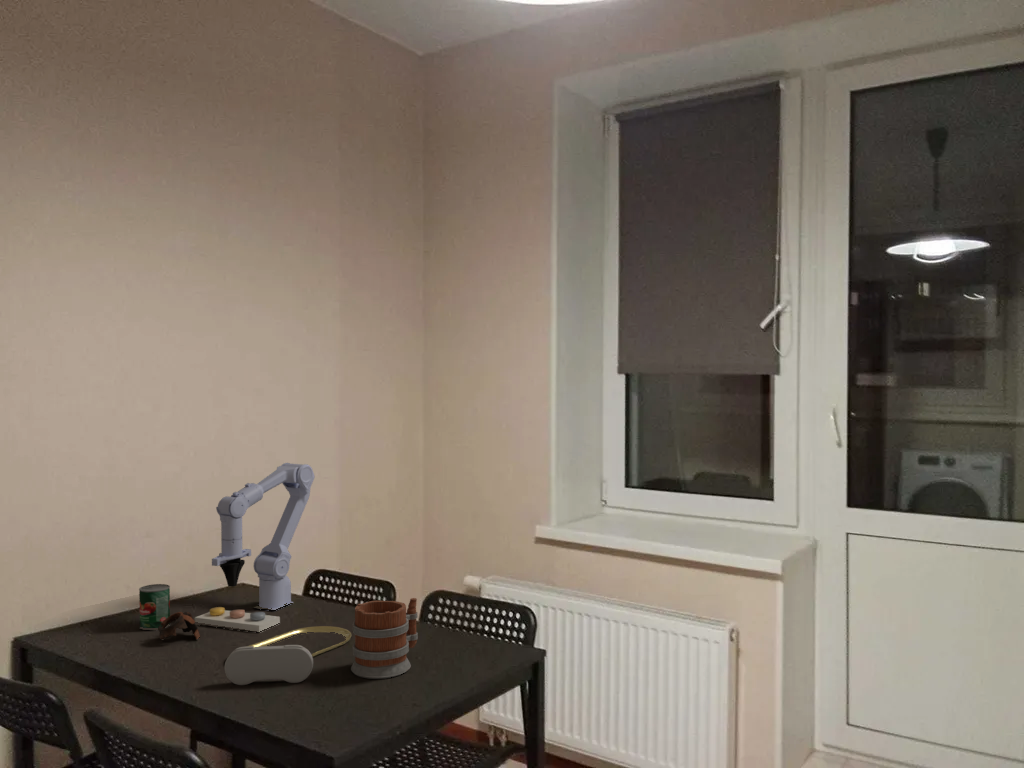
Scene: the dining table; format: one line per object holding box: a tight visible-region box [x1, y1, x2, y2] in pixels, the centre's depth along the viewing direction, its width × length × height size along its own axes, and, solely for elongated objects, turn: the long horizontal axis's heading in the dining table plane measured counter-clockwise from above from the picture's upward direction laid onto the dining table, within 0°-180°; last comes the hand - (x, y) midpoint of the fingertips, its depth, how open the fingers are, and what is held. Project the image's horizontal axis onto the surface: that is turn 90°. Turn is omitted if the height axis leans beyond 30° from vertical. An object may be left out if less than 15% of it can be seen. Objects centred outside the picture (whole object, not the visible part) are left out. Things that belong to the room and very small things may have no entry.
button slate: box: [250, 611, 266, 620], centre depth 234 cm, size 4×4×1 cm
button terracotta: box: [229, 609, 246, 618], centre depth 237 cm, size 4×4×1 cm
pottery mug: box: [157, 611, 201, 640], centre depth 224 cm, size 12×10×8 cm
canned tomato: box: [138, 583, 171, 628], centre depth 235 cm, size 8×8×11 cm
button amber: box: [209, 606, 226, 615], centre depth 239 cm, size 4×4×1 cm
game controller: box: [224, 644, 314, 686], centre depth 192 cm, size 20×2×8 cm, turn 96°
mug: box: [350, 597, 419, 680], centre depth 202 cm, size 14×19×15 cm
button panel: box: [194, 609, 281, 633], centre depth 237 cm, size 9×22×2 cm, turn 69°
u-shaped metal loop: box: [227, 625, 352, 658], centre depth 215 cm, size 19×35×2 cm, turn 149°
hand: (232, 585), depth 242 cm, fingers closed
